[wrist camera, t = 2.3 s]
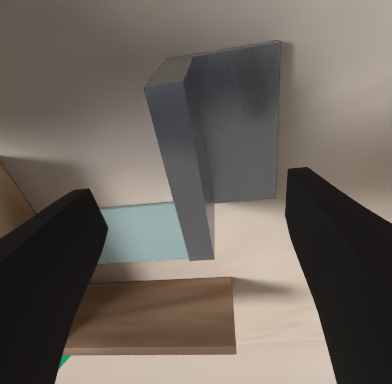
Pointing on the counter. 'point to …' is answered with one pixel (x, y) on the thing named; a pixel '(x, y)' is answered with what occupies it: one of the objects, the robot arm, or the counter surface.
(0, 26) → the counter surface
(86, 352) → the corner walls
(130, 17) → the counter surface
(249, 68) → the bracket
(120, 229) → the pad
